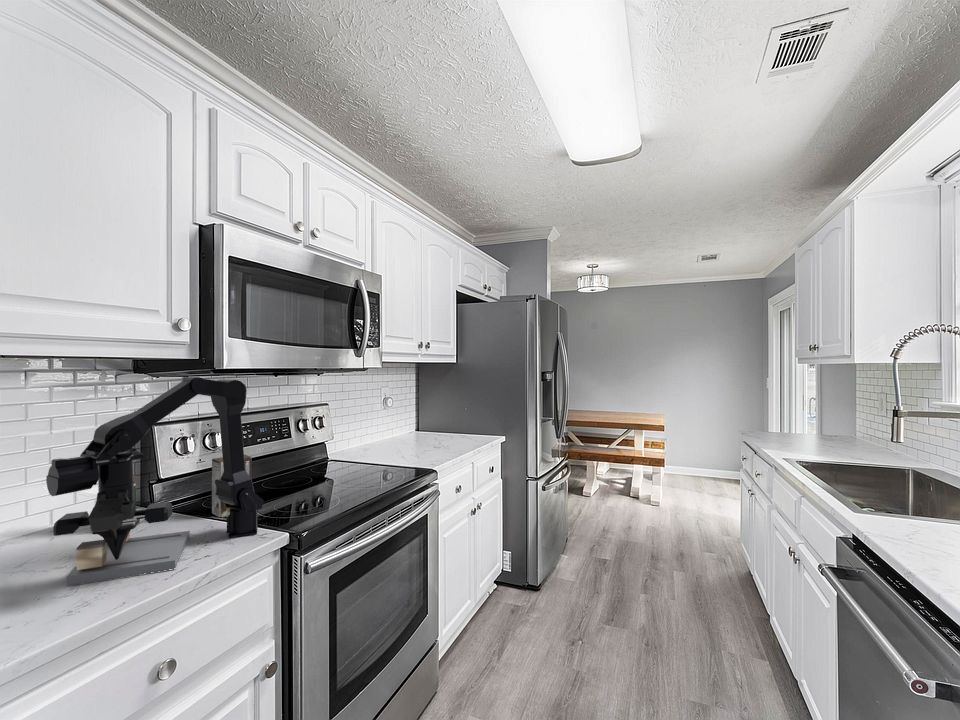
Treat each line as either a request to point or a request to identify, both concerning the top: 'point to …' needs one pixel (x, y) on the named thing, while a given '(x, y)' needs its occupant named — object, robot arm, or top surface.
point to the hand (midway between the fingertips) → (117, 558)
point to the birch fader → (91, 554)
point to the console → (136, 558)
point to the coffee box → (217, 472)
